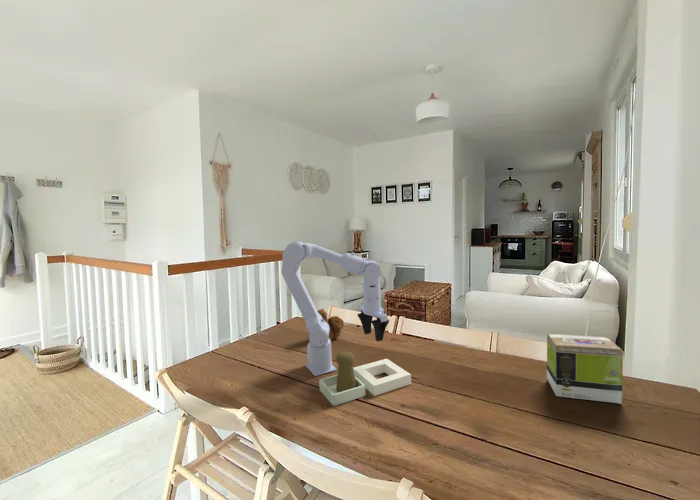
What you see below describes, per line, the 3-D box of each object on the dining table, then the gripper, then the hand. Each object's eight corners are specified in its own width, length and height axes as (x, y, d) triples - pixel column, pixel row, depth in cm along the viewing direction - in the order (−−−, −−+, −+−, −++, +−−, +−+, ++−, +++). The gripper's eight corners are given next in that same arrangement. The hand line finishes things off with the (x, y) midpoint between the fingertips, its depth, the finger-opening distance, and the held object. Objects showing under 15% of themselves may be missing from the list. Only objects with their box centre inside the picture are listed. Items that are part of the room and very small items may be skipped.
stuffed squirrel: (308, 337, 139) (307, 307, 138) (340, 333, 143) (339, 304, 141) (312, 346, 129) (310, 314, 128) (346, 341, 133) (345, 310, 132)
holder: (352, 376, 103) (352, 367, 102) (387, 367, 109) (386, 358, 108) (374, 396, 91) (374, 385, 91) (411, 383, 97) (411, 374, 97)
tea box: (606, 386, 92) (608, 335, 91) (622, 405, 82) (625, 349, 81) (545, 379, 97) (546, 331, 95) (554, 397, 87) (556, 344, 86)
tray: (319, 389, 96) (318, 379, 96) (349, 380, 100) (349, 371, 100) (333, 406, 87) (332, 395, 87) (366, 395, 91) (365, 385, 91)
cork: (353, 396, 90) (351, 358, 89) (333, 393, 92) (331, 356, 91) (359, 385, 96) (358, 349, 95) (340, 383, 98) (338, 348, 97)
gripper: (394, 299, 102) (395, 341, 104) (371, 291, 115) (372, 328, 116) (375, 303, 99) (377, 346, 100) (353, 294, 112) (355, 332, 113)
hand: (373, 337), depth 108 cm, fingers open, 7 cm apart
